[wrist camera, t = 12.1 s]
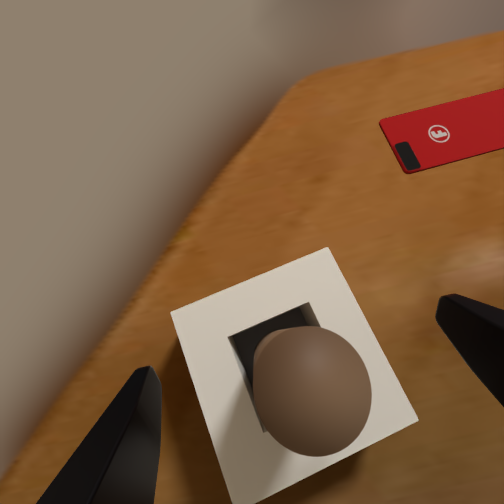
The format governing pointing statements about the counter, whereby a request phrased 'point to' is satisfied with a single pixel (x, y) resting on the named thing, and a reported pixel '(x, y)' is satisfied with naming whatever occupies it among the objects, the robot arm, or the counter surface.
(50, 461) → the counter surface
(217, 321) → the bore block
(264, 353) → the walnut pin
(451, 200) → the counter surface
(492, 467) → the counter surface
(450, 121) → the electronic device
